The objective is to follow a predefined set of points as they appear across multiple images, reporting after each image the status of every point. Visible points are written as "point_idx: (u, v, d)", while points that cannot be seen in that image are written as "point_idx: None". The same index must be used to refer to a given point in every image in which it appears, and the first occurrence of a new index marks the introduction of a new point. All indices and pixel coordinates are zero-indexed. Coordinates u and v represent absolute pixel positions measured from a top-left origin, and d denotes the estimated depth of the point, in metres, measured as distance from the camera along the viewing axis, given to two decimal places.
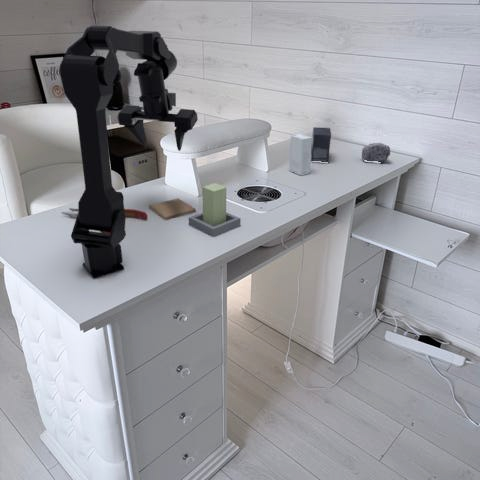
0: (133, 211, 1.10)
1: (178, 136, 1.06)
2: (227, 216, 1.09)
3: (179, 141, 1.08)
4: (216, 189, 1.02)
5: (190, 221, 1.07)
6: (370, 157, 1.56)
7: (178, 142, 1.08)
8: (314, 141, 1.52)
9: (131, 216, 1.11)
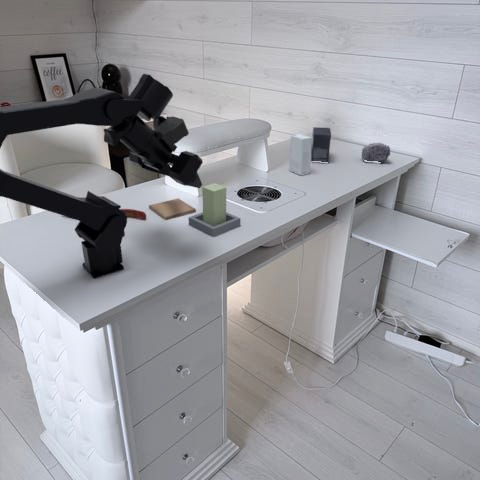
0: (132, 211, 1.10)
1: None
2: (227, 216, 1.09)
3: (190, 185, 0.91)
4: (216, 189, 1.02)
5: (190, 221, 1.07)
6: (370, 157, 1.56)
7: (190, 185, 0.91)
8: (314, 141, 1.52)
9: (130, 216, 1.11)
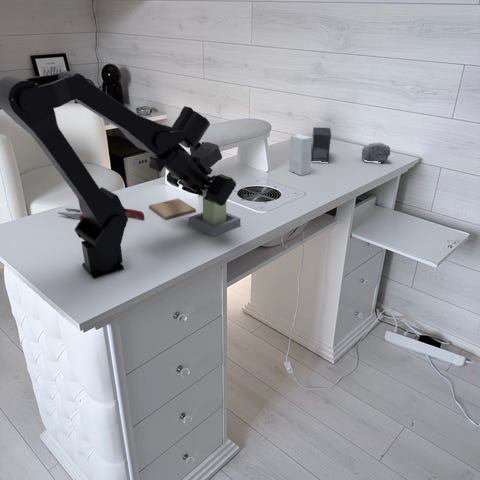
0: (130, 211, 1.10)
1: None
2: (227, 216, 1.09)
3: None
4: None
5: (190, 221, 1.07)
6: (370, 157, 1.56)
7: None
8: (314, 141, 1.52)
9: (128, 216, 1.11)
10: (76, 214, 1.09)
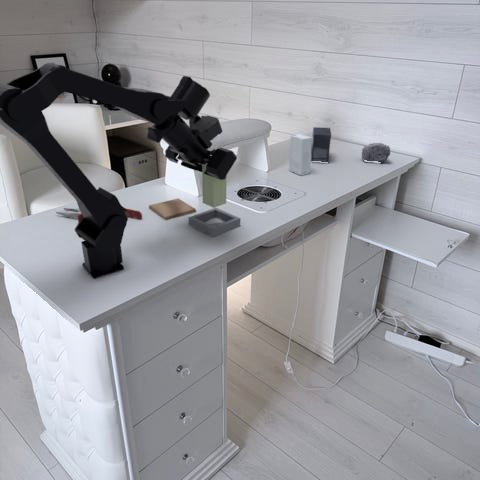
0: (128, 210, 1.11)
1: None
2: (227, 216, 1.09)
3: None
4: None
5: (190, 221, 1.07)
6: (370, 157, 1.56)
7: None
8: (314, 141, 1.52)
9: None
10: (74, 214, 1.09)
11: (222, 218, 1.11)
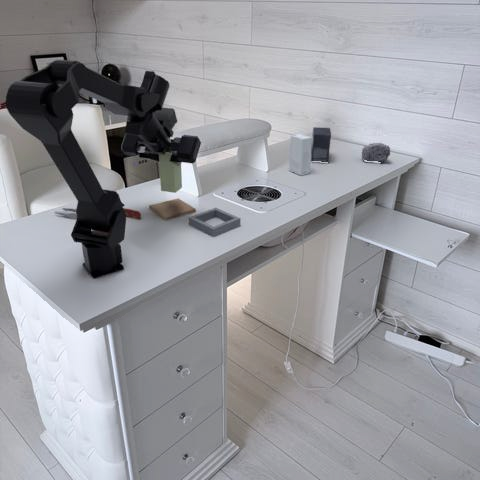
0: (127, 210, 1.11)
1: (175, 162, 1.05)
2: (227, 216, 1.09)
3: (177, 163, 1.07)
4: None
5: (190, 221, 1.07)
6: (370, 157, 1.56)
7: (176, 163, 1.07)
8: (314, 141, 1.52)
9: None
10: (72, 213, 1.09)
11: (222, 218, 1.11)
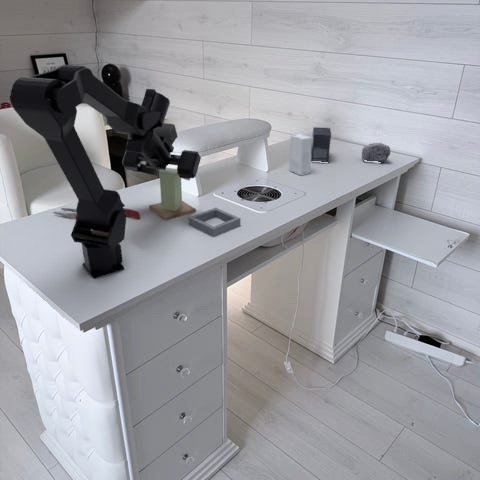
0: (125, 210, 1.11)
1: (184, 178, 1.06)
2: (227, 216, 1.09)
3: (186, 179, 1.08)
4: (174, 172, 1.10)
5: (190, 221, 1.07)
6: (370, 157, 1.56)
7: (186, 179, 1.08)
8: (314, 141, 1.52)
9: None
10: (71, 213, 1.09)
11: (222, 218, 1.11)
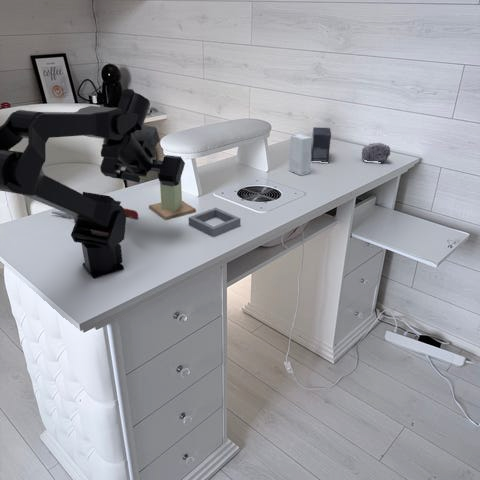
0: (124, 210, 1.11)
1: (167, 185, 0.98)
2: (227, 216, 1.09)
3: (170, 186, 1.00)
4: None
5: (190, 221, 1.07)
6: (370, 157, 1.56)
7: (169, 186, 1.00)
8: (314, 141, 1.52)
9: None
10: None
11: (222, 218, 1.11)
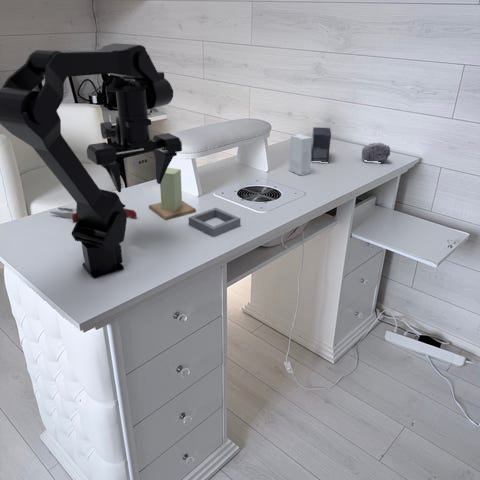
0: None
1: (167, 162, 0.93)
2: (227, 216, 1.09)
3: (165, 169, 0.94)
4: (174, 172, 1.10)
5: (190, 221, 1.07)
6: (370, 157, 1.56)
7: (164, 171, 0.94)
8: (314, 141, 1.52)
9: None
10: (68, 213, 1.09)
11: (222, 218, 1.11)
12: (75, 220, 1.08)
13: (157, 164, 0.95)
